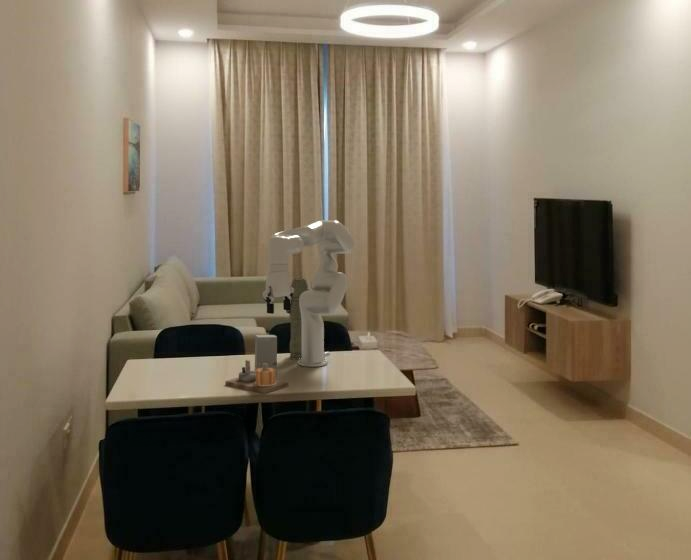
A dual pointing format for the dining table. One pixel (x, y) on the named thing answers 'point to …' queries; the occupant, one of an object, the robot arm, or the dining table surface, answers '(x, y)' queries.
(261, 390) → the gear board
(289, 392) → the dining table surface
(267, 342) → the skincare box
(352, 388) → the dining table surface
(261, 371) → the loose gear
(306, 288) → the thermos
